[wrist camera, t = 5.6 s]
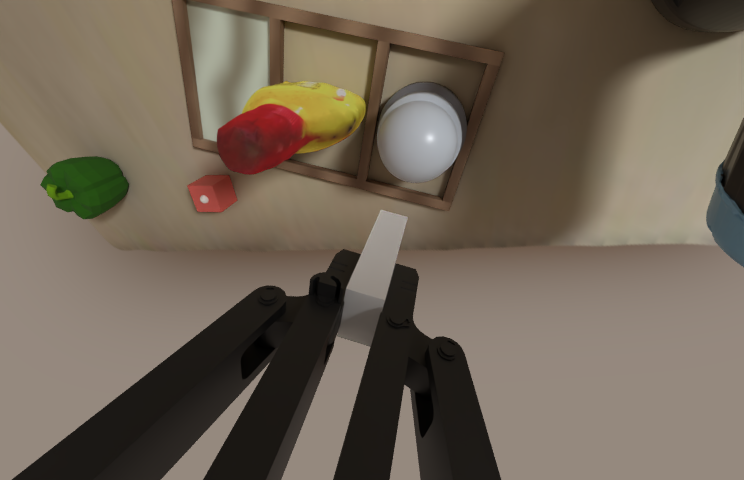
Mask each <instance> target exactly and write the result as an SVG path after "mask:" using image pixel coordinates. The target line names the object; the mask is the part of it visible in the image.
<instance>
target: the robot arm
mask: <svg viewBox="0 0 744 480" xmlns="http://www.w3.org/2000/svg"><path fill="white" fill-rule="evenodd" d="M652 2H653V4H654V6H655V7H656V9H657V10H658V11H659V12H660V13H661V14H662V15H663V16H664V17H665V18H666V19H667V20H669V21H670V22H672V23H673V24H675V25H677V26H679V27H682V28H685V29H688V30H692V31H698V32H732V31H741V30H744V0H652ZM715 181H716V187H715V190H714V192H713V195H712V198H711V201H710V204H709V206H708V209H707V215H706V221H707V226H708V228H709V229H710V231H711V232H712V236H713V237H714V240H715V242H716V243H717V244H718V245H719V247H720V248H721V249H722V250H723V251H724V252H725V253H726V254H727V255H729V256H730V257H731V258H732V259H733V260H735V261H736V262H737V263H739V264H740V265H741V266H743V267H744V118H743V120H742V123H741V125H740V127H739V129H738V132H737V134H736V136H735V138H734V141H733V143H732V145H731V147H730V150H729V152H728V154H727V156H726V159H725V160H724V161H723V162H722V163H721V164H720V165H719V167H718V169H717V172H716V180H715ZM407 219H408V217H406V216H402V215H399V214H395V213H391V212H388V211H384V210H380V213H379V215H378V217H377V220H376V222H375V224H374V226H373V229H372V231H371V233H370V235H369V238H368V240H367V242H366V244H365V247H364V249H363V251H362V254H358V253H355V252H351V251H348V250H344V249H343V250H342V251H340V252H339V253H337V254H336V255H335V257H334V259H333V261H332V263H331V264H330V266H329V268H328V270H327V271H326V272H323V273H318V274H316V275H314V276H313V277H312V278H311V279H310V287H309V295H306V296H299V297H294V296H293V297H292V296H286V294H285V292H284V291H283V290H282V289H281V288H279V287H276V286H263V287H260V288H258V289H256V290H254V291H253V292H252V293H251V294H249V295H248V296H246V297H245V298H244V299H243V300H241V301H240V302H239V303H237V304H236V305H235V306H234V307H233V308H231V309H230V310H229V311H227V312H226V313H225V314H223V315H222V316H221V317H220V318H218V319H217V320H216V321H214V322H213V323H212V324H211V325H209V326H208V327H207V328H206V329H204V330H203V331H202V332H200V333H199V334H198V335H196V336H195V337H194V338H193V339H191V340H190V341H189V342H188V343H186V344H185V345H184V346H182V347H181V348H180V349H179V350H177V351H176V352H175V353H173V354H172V355H171V356H170V357H168V358H167V359H166V360H165V361H163V362H162V363H161V364H159V365H158V366H157V367H155V368H154V369H153V370H152V371H150V372H149V373H148V374H147V375H145V376H144V377H143V378H142V379H140V380H139V381H138V382H137V383H135V384H134V385H133V386H131V387H130V388H129V389H128V390H126V391H125V392H124V393H122V394H121V395H120V396H118V397H117V398H116V399H115V400H113V401H112V402H111V403H109V404H108V405H107V406H106V407H105V408H103V409H102V410H101V411H99V412H98V413H97V414H95V415H94V416H93V417H91V418H90V419H89V420H88V421H86V422H85V423H84V424H82V425H81V426H80V427H79V428H77V429H76V430H75V431H74V432H72V433H71V434H70V435H68V436H67V437H66V438H65V439H63V440H62V441H61V442H59V443H58V444H57V445H56V446H54V447H53V448H52V449H50V450H49V451H48V452H47V453H45V454H44V455H43V456H42V457H40V458H39V459H38V460H36V461H35V462H34V463H33V464H31V465H30V466H29V467H27V468H26V469H25V470H24V471H22V472H21V473H20V474H18V475H17V476H16V477H15V478H13V479H12V480H160V479H162V478H163V477H164V475H165V474H166V473H167V472H168V471H169V470H170V469H171V468H172V467H173V466H174V465H175V464H176V463H177V461H178V460H179V459H180V458H181V457H182V456H183V455H184V454H185V453H186V452H187V451H188V450H189V449H190V448H191V446H192V445H193V444H194V443H195V442H196V441H197V440H198V439H199V438H200V437H201V436H202V435H203V433H204V432H205V431H206V430H207V429H208V428H209V427H210V426H211V425H212V424H213V423H214V422H215V421H216V419H217V418H218V417H219V416H220V415H221V414H222V413H223V412H224V411H225V410H226V409H227V408H228V406H229V405H230V404H231V403H232V402H233V401H234V400H235V399H236V398H237V397H238V396H239V394H241V393H242V391H243V390H244V389H245V388H246V387H247V386H248V385H249V384H250V383H251V381H252V380H254V379H255V377H256V376H257V375H258V374H259V373H260V372H261V371H262V370H263V369H264V368H265V367H266V365H267V364H268V363H269V362H270V361H271V362H270V364H269V365H268V367H267V369H266V371H265V372H264V374H263V376H262V378H261V379H260V381H259V383H258V385H257V386H256V388H255V390H254V392H253V393H252V395H251V397H250V399H249V400H248V402H247V404H246V406H245V408H244V409H243V411H242V413H241V414H240V416H239V418H238V420H237V421H236V423H235V425H234V427H233V428H232V430H231V432H230V434H229V435H228V437H227V439H226V441H225V442H224V444H223V446H222V448H221V449H220V451H219V453H218V455H217V456H216V459H215V460H214V462H213V463H212V465H211V467H210V469H209V470H208V472H207V474H206V476H205V478H204V479H203V480H281V478H282V476H283V473H284V471H285V468H286V466H287V463H288V461H289V458H290V456H291V453H292V451H293V448H294V446H295V443H296V441H297V438H298V435H299V433H300V430H301V428H302V425H303V423H304V420H305V418H306V415H307V413H308V410H309V408H310V405H311V403H312V400H313V397H314V395H315V392H316V389H317V387H318V385H319V382H320V380H321V377H322V375H323V372H324V370H325V367H326V365H327V362H328V360H329V357H330V354H331V352H332V349H333V346H334V341H335V338H336V335H337V333H338V335H337V336H338V337H341V338H345V339H348V340H351V341H354V342H358V343H361V344H364V345H367V346H370V347H371V348H370V351H369V355H368V359H367V362H366V365H365V369H364V373H363V376H362V379H361V383H360V387H359V390H358V394H357V397H356V401H355V404H354V408H353V411H352V415H351V419H350V422H349V426H348V429H347V433H346V436H345V440H344V443H343V447H342V450H341V454H340V457H339V461H338V464H337V468H336V471H335V475H334V479H333V480H389V479H390V472H391V466H392V460H393V453H394V447H395V440H396V434H397V428H398V420H399V414H400V408H401V401H402V395H403V389H404V385H406V386H407V387H409V388H410V389H411V390H410V392H411V400H412V409H413V416H414V417H413V418H414V426H415V435H416V443H417V452H418V460H419V468H420V478H421V480H501V478H500V474H499V471H498V467H497V464H496V460H495V457H494V453H493V450H492V447H491V443H490V440H489V436H488V433H487V429H486V426H485V422H484V419H483V415H482V412H481V409H480V405H479V402H478V398H477V395H476V392H475V388H474V385H473V381H472V378H471V374H470V371H469V367H468V364H467V360H466V357H465V354H464V352H463V350H462V348H461V347H460V345H459V344H458V343H457V342H455V341H454V340H452V339H450V338H447V337H436V338H434V339H431V338H429V337H428V336H426V335H424V334H423V333H422V332H420V331H419V329H418V328H417V327H416V326H415V324H414V321H413V311H414V305H415V298H416V292H417V286H418V280H419V276H418V274H417V271H416V269H413V268H410V267H406V266H403V265H399V264H396V263H395V262H396V259H397V255H398V252H399V248H400V244H401V241H402V237H403V233H404V230H405V226H406V222H407Z"/></svg>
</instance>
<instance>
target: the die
mask: <svg viewBox="0 0 744 480" xmlns="http://www.w3.org/2000/svg"><path fill="white" fill-rule="evenodd" d="M188 189H189V191H190V194H191V196H192V199H193V201H194V204H195V206H196V208H197V211H198V212H223V211H224V210H225V209H227V208H228V207H229V206H230V205H232V204H233V203H234V202H236V201H237V197H236V194H235V191H234V188H233V185H232V182H231V179H230V176H229V175H205V176H204V177H202V178H200V179H198V180H196V181H195V182H193V183H191V184H189V185H188Z"/></svg>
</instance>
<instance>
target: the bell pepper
mask: <svg viewBox="0 0 744 480" xmlns="http://www.w3.org/2000/svg"><path fill="white" fill-rule="evenodd" d="M47 173H48V174H47V175H46V176H45V177H44V179H43V181H42V183H41V186H42V187H43V188H44V189H45V190H46V191H47V194H48V196H50V197H51V198H52V199H53V201H54V203H55V205H56V207H57V208H60V209H62V210H64V211H66V212H72V211H74V212H75V213H76V214H77V215H78V216H79V217H81V218H82V219H92V218H94V217H96V216H98V215H100V214H102V213H104V212H105V211H107V210H109V209H110V208H112V207H113V206H114V205H116V204H117V203H118V202H119V201H120V200H121V199H122V198H123V197H124V196H125V195H126V193H127V190H128V186H129V183H128V182H127V180H126V178H125V177H124V176H122V171H121V170H120V168H119V166H118V165H117V164H115V163H114V162H113V161H111V160H109V159H106V158H102V157H97V156H95V157H79V158H70V159H67V160H64V161H60V162H57V163H55V164H53V165H52V166H51V167H50V168H49V169H48V170H47Z"/></svg>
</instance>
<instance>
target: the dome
mask: <svg viewBox="0 0 744 480" xmlns="http://www.w3.org/2000/svg"><path fill="white" fill-rule="evenodd" d="M461 142H462V130H461V122H460V119H459V116H458V113H457V111H456V110H455V108H454V107H453V106H452V104H451V103H450V102H449V101H448V100H447V99H445V98H444V97H442V96H440V95H438V94H436V93H432V92H427V91H418V92H412V93H409V94H407V95H404V96H402V97H401V98H399V99H398V100H397V101H395V102H394V103H393V104H392V106H391V107H390V108H389V109H388V110H387V111H386V113H385V114H384V115H383V117H382V119H381V121H380V124H379V127H378V131H377V146H378V150H379V154H380V158H381V160H382V162H383V164H384V166H385V167H386V168H387V170H388V171H389V172H390V173H391V174H392V175H394V176H395V177H397V178H398V179H400V180H403V181H406V182H410V183H422V182H427V181H430V180H432V179H435V178H436V177H438V176H440V175H441V174H442V173H443V172H445V171H446V170H447V169H448V168H449V167H450V166H451V165H452V164H453V162H454V161H455V159H456V157H457V156H458V153H459V151H460V147H461Z"/></svg>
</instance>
